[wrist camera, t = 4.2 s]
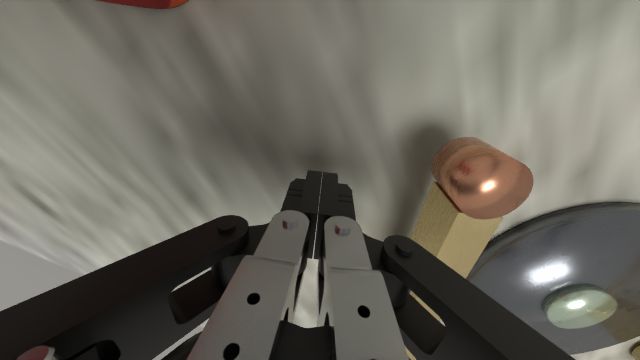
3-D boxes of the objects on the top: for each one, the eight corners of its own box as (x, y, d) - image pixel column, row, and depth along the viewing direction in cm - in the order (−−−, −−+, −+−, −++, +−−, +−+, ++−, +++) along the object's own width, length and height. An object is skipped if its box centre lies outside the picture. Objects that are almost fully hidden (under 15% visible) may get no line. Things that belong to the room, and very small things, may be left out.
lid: (507, 187, 14) (533, 206, 12) (766, 218, 14) (828, 241, 12) (423, 331, 22) (431, 356, 20) (590, 351, 22) (612, 377, 20)
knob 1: (394, 331, 21) (409, 398, 17) (348, 326, 21) (351, 392, 17) (490, 129, 12) (574, 167, 8) (408, 119, 12) (448, 152, 8)
